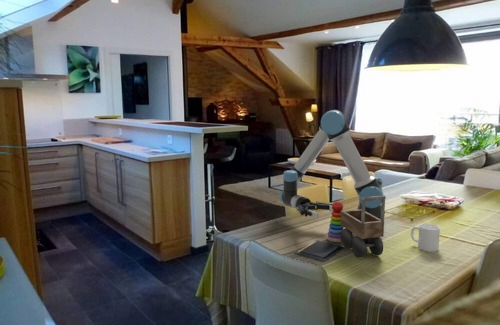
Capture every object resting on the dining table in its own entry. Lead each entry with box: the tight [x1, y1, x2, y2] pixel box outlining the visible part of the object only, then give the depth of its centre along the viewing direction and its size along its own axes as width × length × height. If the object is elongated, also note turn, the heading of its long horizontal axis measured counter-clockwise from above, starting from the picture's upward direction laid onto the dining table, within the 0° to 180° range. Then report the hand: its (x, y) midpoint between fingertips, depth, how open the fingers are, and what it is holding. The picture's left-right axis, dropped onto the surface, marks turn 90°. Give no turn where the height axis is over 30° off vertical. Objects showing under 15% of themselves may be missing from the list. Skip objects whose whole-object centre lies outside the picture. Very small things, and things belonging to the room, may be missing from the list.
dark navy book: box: [293, 240, 345, 263], centre depth 174 cm, size 20×2×15 cm
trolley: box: [341, 195, 387, 259], centre depth 170 cm, size 10×19×27 cm, turn 14°
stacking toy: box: [326, 200, 344, 243], centre depth 185 cm, size 8×8×19 cm
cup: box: [410, 223, 441, 253], centre depth 175 cm, size 8×12×10 cm
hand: (328, 213), depth 189 cm, fingers open, 13 cm apart
